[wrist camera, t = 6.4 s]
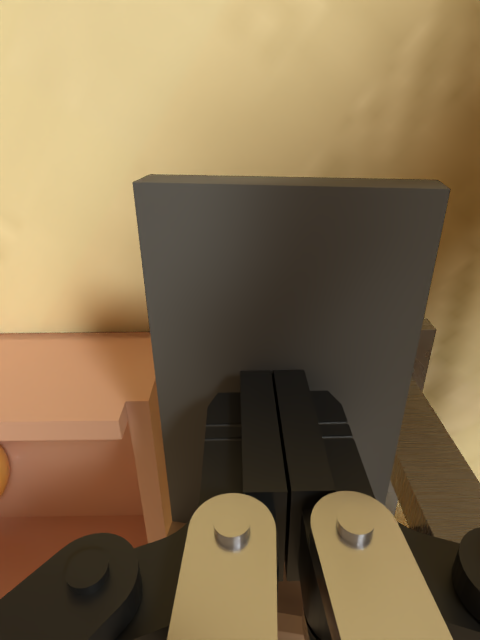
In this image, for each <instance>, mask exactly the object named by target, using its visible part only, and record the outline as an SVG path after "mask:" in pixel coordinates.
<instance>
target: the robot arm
mask: <svg viewBox="0 0 480 640" xmlns="http://www.w3.org/2000/svg"><path fill="white" fill-rule="evenodd" d="M284 562H285V571H286V580H287V581H300V585H301V592H302V600H303V613H302V629H303V634H304V639H305V640H480V527H479V528H475V529H473V530H471V531H469V532H468V533H466V534H465V535H464V537H463V538H462V540H461V542H460V543H456V542H453V541H449V540H445V539H441V538H438V537H434V536H430V535H426V534H423V533H420V532H417V531H414V530H412V529H410V528H407V527H405V526H404V525H402V524H400V523H399V522H397V521H396V519H395V517H394V516H393V514H392V513H391V512H390V511H389V510H388V509H387V508H386V507H385V506H384V505H383V504H382V503H380V502H379V501H378V500H376V498H375V496H374V494H373V491H372V488H371V485H370V482H369V480H368V477H367V474H366V471H365V468H364V466H363V463H362V460H361V457H360V454H359V452H358V449H357V446H356V443H355V440H354V439H353V435H352V432H351V429H350V426H349V424H348V421H347V418H346V415H345V412H344V410H343V407H342V404H341V403H340V402H339V401H338V400H337V399H336V398H335V397H334V396H333V395H332V394H331V393H330V392H329V391H328V390H325V391H310V389H309V386H308V382H307V378H306V374H305V371H304V369H299V370H273V371H272V375H271V370H252V371H240V392H227V393H217V394H216V396H215V397H214V399H213V400H212V401H211V403H210V404H209V406H208V407H207V418H206V430H205V442H204V453H203V465H202V476H201V488H200V498H199V503H198V506H197V509H196V511H195V513H194V514H193V516H192V517H191V519H190V520H189V521H188V522H187V523H186V524H185V525H184V526H183V527H182V528H181V529H179V530H178V531H177V532H175V533H173V534H171V535H170V536H168V537H165V538H163V539H160V540H157V541H154V542H151V543H148V544H145V545H142V546H139V547H136V548H133V546H132V545H131V544H130V543H129V542H128V541H127V540H126V539H124V538H123V537H121V536H118V535H116V534H111V533H94V534H90V535H86V536H83V537H81V538H78V539H76V540H74V541H72V542H71V543H69V544H67V545H66V546H65V547H63V548H62V549H61V550H59V551H58V552H57V553H56V554H55V555H53V556H52V557H51V558H50V559H49V560H47V561H46V562H45V563H44V564H42V565H41V566H40V567H39V568H38V569H36V570H35V571H34V572H33V573H32V574H30V575H29V576H28V577H27V578H25V579H24V580H23V581H22V582H21V583H19V584H18V585H17V586H16V587H14V588H13V589H12V590H11V591H10V592H8V593H7V594H6V595H5V596H4V597H2V598H1V599H0V640H278V639H277V604H278V582H281V581H283V574H284Z"/></svg>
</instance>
